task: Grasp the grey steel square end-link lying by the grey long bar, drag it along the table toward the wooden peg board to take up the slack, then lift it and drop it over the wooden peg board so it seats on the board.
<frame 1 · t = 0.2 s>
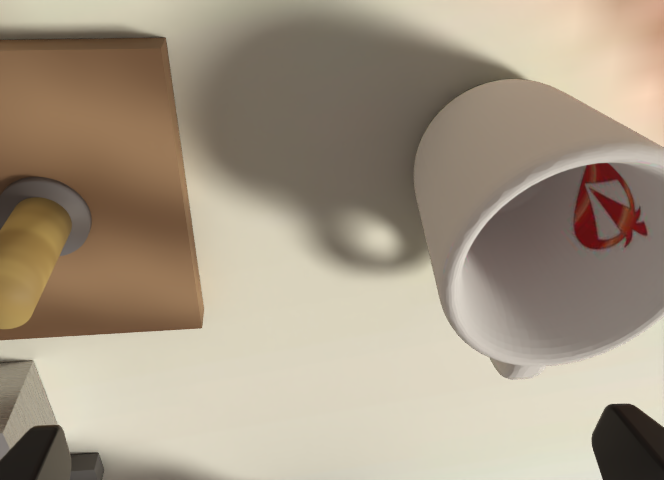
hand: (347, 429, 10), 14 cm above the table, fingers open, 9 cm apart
grey long bar: (13, 468, 31), on the table
wooden peg board: (54, 198, 23), on the table
cup: (482, 179, 24), on the table
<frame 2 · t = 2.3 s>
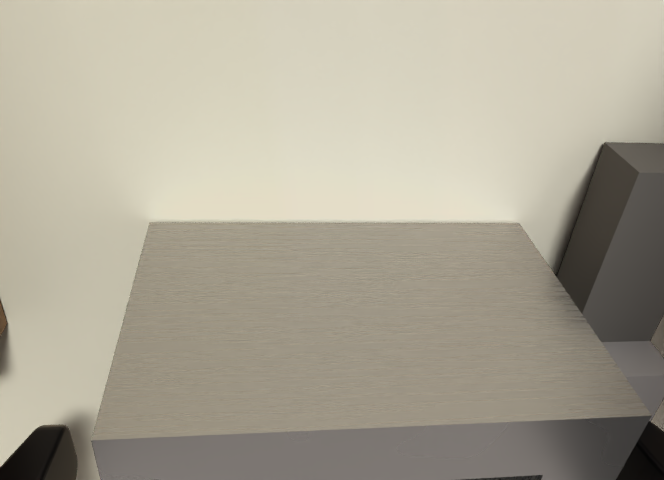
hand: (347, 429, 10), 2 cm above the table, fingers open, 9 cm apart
grey long bar: (565, 350, 12), on the table
end link: (329, 357, 11), on the table
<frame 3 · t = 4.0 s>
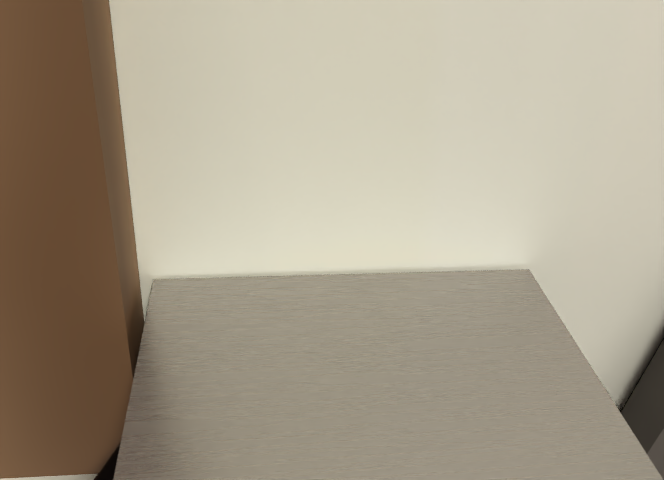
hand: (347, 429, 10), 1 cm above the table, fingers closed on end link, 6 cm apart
grey long bar: (644, 423, 13), on the table
end link: (336, 400, 11), on the table, touching gripper
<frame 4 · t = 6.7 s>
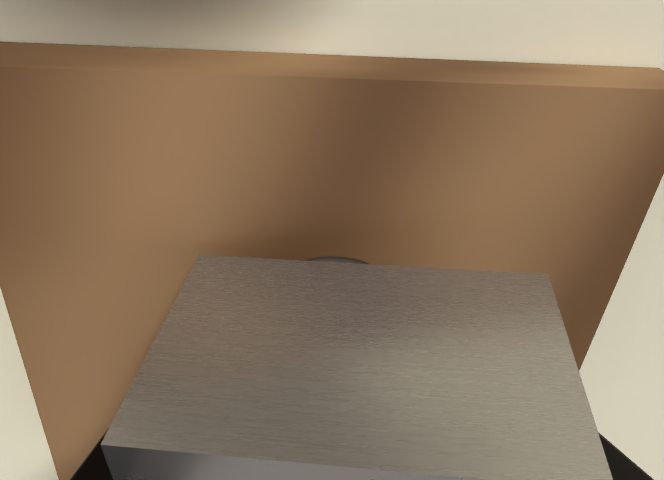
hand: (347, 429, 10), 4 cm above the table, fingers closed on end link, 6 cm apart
wooden peg board: (321, 283, 13), on the table
end link: (365, 385, 12), point 2 cm above the table, tilted 13°, touching gripper
when the fingers open (4 cm above the table, at t = 7.2 s): end link stays where it is, resting on wooden peg board.
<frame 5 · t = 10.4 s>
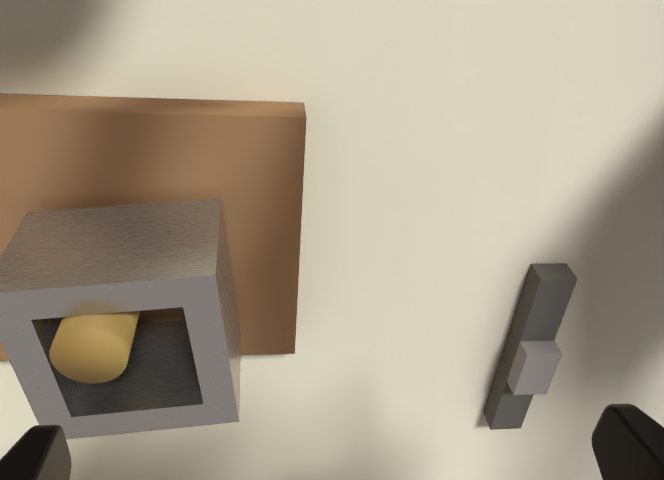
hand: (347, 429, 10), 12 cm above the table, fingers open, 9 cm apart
grey long bar: (521, 344, 26), on the table
wooden peg board: (129, 232, 21), on the table
end link: (144, 279, 20), point 2 cm above the table, touching wooden peg board
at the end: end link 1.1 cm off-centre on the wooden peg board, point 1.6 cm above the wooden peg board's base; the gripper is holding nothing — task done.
